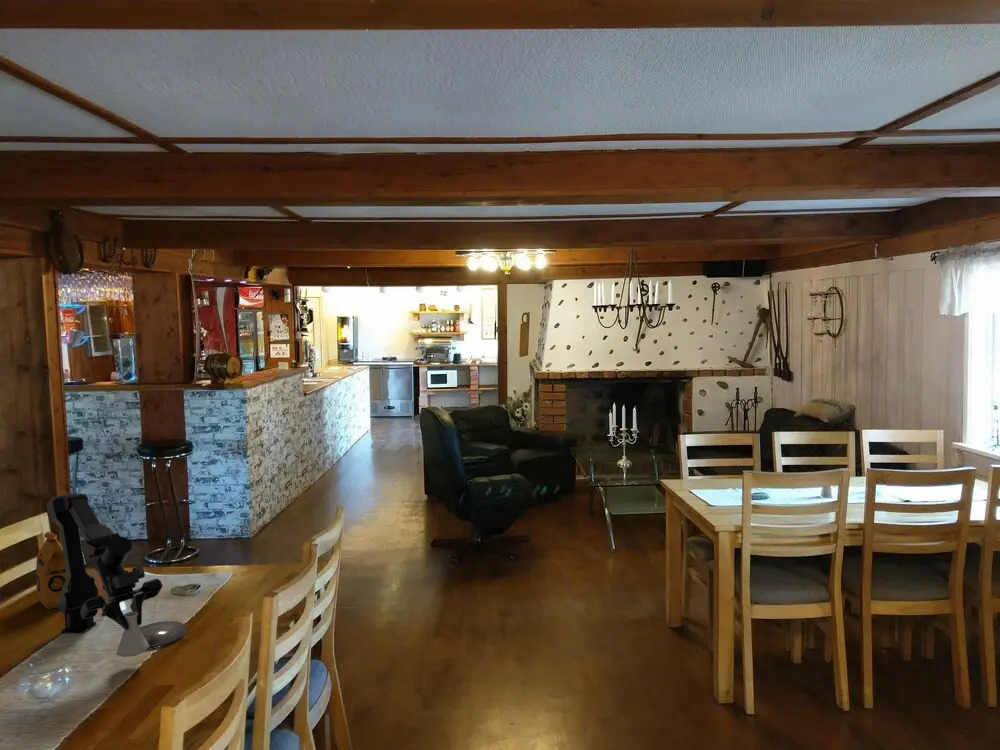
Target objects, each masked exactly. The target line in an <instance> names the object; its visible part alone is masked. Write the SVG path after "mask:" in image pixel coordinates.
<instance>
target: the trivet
mask: <svg viewBox="0 0 1000 750" xmlns="http://www.w3.org/2000/svg"><path fill="white" fill-rule="evenodd" d="M139 627H140V629H141V631H142V633H143V635H144V637H145V639H146V640H147V642H148V644H149V648H153V649H155V648H154V647H158V646H163V645H166V646H169V645H172V644H173V643H176V642H177V641H179V640H181V639H182V638H184V636H185V635H186V633H187V632H186V631H187V627H186V625H185V624H184V623H183V622H182V621H175V620H164V621H156V622H152V623H147V624H145V625H143V626H139ZM171 643H172V644H171ZM168 644H169V645H168ZM163 647H164V646H163Z"/></svg>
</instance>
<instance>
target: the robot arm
mask: <svg viewBox="0 0 1000 750" xmlns="http://www.w3.org/2000/svg"><path fill="white" fill-rule="evenodd" d="M46 511H47V512H48V514H49V517H50V519H51V521H52V522H53V523H55V524H56V526H58V529H59V535H60V539H61V540H60V543H61V546H62V548H63V554H64V560H65V566H66V572H67V578H66V580H65V582H64V585H63V587H62V591H63V594H62V595H61V598H60V600H59V602H58V610H59V612H60V613H62V614H63V615H64V620H65V621H64V624H65V628H63V629H61V633H64V634H65V633H66V634H83V633H85V632H86V631H88V630H89V629H91V628H92V627H94V626H96V625H97V624H96V623H97V621H95V619H94V617H96V616H97V614H98V612H99V610H101V611H102V612H101V615H100V616H101V617H107V618H109V619H111V620H112V621H114V622H115V623H116V624H118V625H119V626H120V627H122V628H123V630H124V629H126V630H128V628H129V626H128V623H127V621H126V619H125V617H124V615H125V614H124V613H123V611H122V609H121V603H122V602H126V601H128V600H130V601H131V604H130V605H129V607H130V609H131V612H138V615H137V621H138V624H139V626H141V625H142V624H143V621H142V620H143V610H142V609H143V603H144V601H146V600H150V599H153V598H155V597H157V596H158V595H159V593H160V591H161V589H162V588H163V586H164V585H163V582H162V580H160V579H159V578H155V579H151V580H148V581H144V582H143V583H142V586H141V587H140V588H136V586H137V585H136V584H137V583H140V580H141V579H143V578H145V576H146V574H145V570H144V568H143V566H142V565H138V566H135V567H133V568H132V571H128V570H127V569H126V570H125V567H124V565H123V563H125V561H126V559H127V558H128V555H129V553H130V552H131V550H132V545H133V543H132V541H131V540H130V539H128V538H127V537H125V536H121V535H120V533H119V532H117V533H114V532H113V531H112V529H111V528H110V527H108V526H105V525H103V524H102V523H101V522H100V521H99V518H98V517H97V515H96V514H95V512H94V510H93V509H92V507H91V506H90V504H89V502H88V497H87V495H86V494H85V493H78V494H77V492H74V493H68V494H63V495H57V496H52V497H51V498H50V500H49V501H47V503H46ZM80 533H81V534H82V537H83V542H82V541H81V534H80ZM84 554H85V555H86V556H87V557H88V558H90V559H92V558H97V557H98V559H97V560H96V562H95V567H94V569H95V571H96V572H98V576H99V578H100V580H101V582H102V586H101V588H102V590H103V591H105V593H106V596H107V597H104V598H103V596H102V595H99V588H98V587H97V585H96V582H95V578H94V577H93V576H90V575H89V574H88V572H87V571H86V565H85V560H84ZM134 588H136V589H134ZM95 624H96V625H95ZM93 625H94V626H93ZM90 627H91V628H90ZM87 629H88V630H87Z"/></svg>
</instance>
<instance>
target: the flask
mask: <svg viewBox="0 0 1000 750" xmlns="http://www.w3.org/2000/svg"><path fill="white" fill-rule="evenodd" d="M123 615H124V617H125V619H126V621H127V623H128V626H129V628H128V630H126V629H124V628H123V632H122V635H121V639H120V642H119V645H118V647H117V650H116V655H117V656H119V657H121V658H127V657H128V658H129V657H135V656H139V655H141V654H142V653H144V652H146V651H147V650H149V649H148V648H149V644H148V642H147V640H146V639H145V637H144V635H143V633H142V631H141V629H140V627H141V626H140V625H139V624H138V621H137V615H138V612H132V611H129V612H125V613H124V614H123Z"/></svg>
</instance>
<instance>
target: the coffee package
mask: <svg viewBox="0 0 1000 750" xmlns="http://www.w3.org/2000/svg"><path fill="white" fill-rule="evenodd" d="M57 536H58V535H57V534H55V533H53V532H51V531H47V532H45V533H44V535H43V537H44V538H45V541H44V543H43V544H42V545H41V548H40V549H39V551H38V553H37V555H36V562H35V563H36V564H35V565H36V566H35V568H36V569H35V571H36V572H35V584H36V592H37V596H38V600H39V601H40V602H41V604H42V605H43V606H44V607H45V609H46V610H52V609H54V608H55V609H57V608H58V609H59V607H58V602H59V600H60V598H61V595H62V594H63V591H62V587H63V585H64V582H65V580H66V578H67V572H66V566H65V560H64V554H63V548H62V543H61V541H59V540H58V537H57Z"/></svg>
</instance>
